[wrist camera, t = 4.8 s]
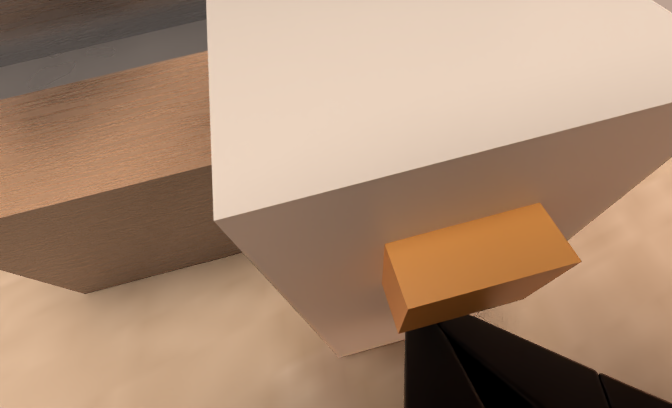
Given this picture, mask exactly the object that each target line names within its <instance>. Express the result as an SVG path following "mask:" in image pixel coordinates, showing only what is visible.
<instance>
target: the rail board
mask: <svg viewBox="0 0 672 408" xmlns="http://www.w3.org/2000/svg"><path fill="white" fill-rule="evenodd" d="M241 252H242V251H241V250H240V249H239V248H238V247H237V246H236V245H235V244H234V243H233V241H232V240H231V239H230V238H229V237H228V236H227V235H226V234H225V233H224V232H223V231H222V229H221V228H220V227H219V226H218V225H217V224H216V223H215V222H214V217H213V188H212V159H211V130H210V101H209V71H208V42H207V13H206V0H0V270H3V271H6V272H10V273H13V274H17V275H20V276H24V277H27V278H31V279H34V280H38V281H41V282H45V283H48V284H52V285H56V286H59V287H63V288H66V289H70V290H73V291H77V292H80V293H84V294H86V293H89V292H93V291H97V290H101V289H105V288H108V287H112V286H116V285H120V284H124V283H127V282H131V281H135V280H139V279H143V278H146V277H150V276H154V275H158V274H162V273H165V272H169V271H173V270H177V269H181V268H184V267H188V266H192V265H196V264H200V263H203V262H207V261H211V260H215V259H219V258H222V257H226V256H230V255H234V254H237V253H241Z"/></svg>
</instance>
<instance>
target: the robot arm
mask: <svg viewBox="0 0 672 408" xmlns="http://www.w3.org/2000/svg"><path fill="white" fill-rule="evenodd" d="M404 408H672V403H670V402H668V401H665V400H663V399H660V398H658V397H656V396H653V395H651V394H649V393H646V392H644V391H642V390H639V389H637V388H635V387H632V386H630V385H627V384H625V383H623V382H621V381H618V380H616V379H614V378H612V377H609V376H607V375H605V374H603V373H600V374H599V375H598V373H597V372H596V371H595V370H593V369H591V368H589V367H586V366H584V365H582V364H580V363H577V362H575V361H573V360H571V359H568V358H566V357H564V356H562V355H559V354H557V353H555V352H553V351H550V350H548V349H546V348H544V347H541V346H539V345H537V344H535V343H532V342H530V341H528V340H526V339H523V338H521V337H519V336H517V335H514V334H512V333H510V332H508V331H505V330H503V329H501V328H499V327H496V326H494V325H492V324H489V323H487V322H485V321H483V320H480V319H478V318H476V317H474V316H471V315H469V314H468V315H465V316H461V317H457V318H454V319H450V320H447V321H443V322H439V323H436V324H432V325H429V326H425V327H421V328H418V329H414V330H411V331H407V332H405V369H404Z"/></svg>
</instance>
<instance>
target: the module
mask: <svg viewBox="0 0 672 408" xmlns="http://www.w3.org/2000/svg"><path fill="white" fill-rule="evenodd" d="M206 13H207V42H208V71H209V101H210V130H211V159H212V188H213V217H214V222H215V223H216V224H217V225H218V226H219V227H220V228H221V229H222V231H223V232H224V233H225V234H226V235H227V236H228V237H229V238H230V239H231V240H232V241H233V243H234V244H235V245H236V246H237V247H238V248H239V249H240V250H241V251H242V252H243V253H244V255H245V256H246V257H247V258H248V259H249V260H250V261H251V262H252V263H253V264H254V265H255V267H256V268H257V269H258V270H259V271H260V272H261V273H262V274H263V275H264V276H265V277H266V279H267V280H268V281H269V282H270V283H271V284H272V285H273V286H274V287H275V288H276V289H277V291H278V292H279V293H280V294H281V295H282V296H283V297H284V298H285V299H286V300H287V301H288V303H289V304H290V305H291V306H292V307H293V308H294V309H295V310H296V311H297V312H298V313H299V315H300V316H301V317H302V318H303V319H304V320H305V321H306V322H307V323H308V324H309V325H310V327H311V328H312V329H313V330H314V331H315V332H316V333H317V334H318V335H319V336H320V337H321V339H322V340H323V341H324V342H325V343H326V344H327V345H328V346H329V347H330V348H331V349H332V351H333V352H334V353H335V354H336V355H337V356H338V357H339V358H340V357H344V356H347V355H351V354H355V353H358V352H362V351H365V350H369V349H372V348H376V347H380V346H383V345H387V344H390V343H394V342H397V341H401V340H405V332H407V331H411V330H414V329H418V328H421V327H425V326H429V325H432V324H436V323H439V322H443V321H447V320H450V319H454V318H457V317H461V316H465V315H468V314H469V315H471V316H474V315H475V314H476V313H478V312H479V311H483V310H486V309H490V308H493V307H497V306H501V305H504V304H508V303H511V302H515V301H518V300H522V299H524V298H526V297H527V296H529V295H530V294H532V293H534V292H535V291H537V290H538V289H540V288H541V287H543V286H544V285H546V284H548V283H549V282H551V281H552V280H554V279H555V278H557V277H558V276H560V275H561V274H563V273H565V272H566V271H568V270H569V269H571V268H572V267H574V266H575V265H577V264H579V263H580V262H582V261H581V260H580V258H579V257H578V256H577V254H576V253H575V251H574V250H573V249H572V247H571V246H570V244H569V243H568V240H569V239H570V238H571V237H573V236H574V235H575V234H576V233H578V232H579V231H580V230H581V229H583V228H584V227H585V226H586V225H588V224H589V223H590V222H591V221H593V220H594V219H595V218H596V217H598V216H599V215H600V214H601V213H603V212H604V211H605V210H606V209H608V208H609V207H610V206H611V205H613V204H614V203H615V202H616V201H618V200H619V199H620V198H621V197H623V196H624V195H625V194H626V193H628V192H629V191H630V190H631V189H633V188H634V187H635V186H636V185H638V184H639V183H640V182H641V181H643V180H644V179H645V178H646V177H648V176H649V175H650V174H651V173H653V172H654V171H655V170H656V169H658V168H659V167H660V166H661V165H663V164H664V163H665V162H666V161H668V160H669V159H670V158H671V157H672V13H671V12H670V11H668V10H666V9H665V8H663V7H662V6H660V5H659V4H657V3H655V2H654V1H652V0H206Z"/></svg>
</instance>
